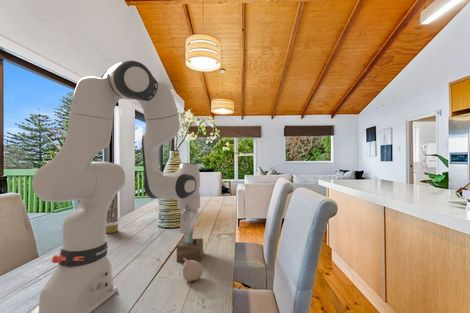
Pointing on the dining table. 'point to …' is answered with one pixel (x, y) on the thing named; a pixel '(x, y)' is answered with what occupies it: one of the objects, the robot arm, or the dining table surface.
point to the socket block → (190, 250)
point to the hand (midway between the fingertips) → (189, 237)
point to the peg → (190, 239)
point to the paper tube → (112, 216)
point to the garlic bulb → (192, 270)
